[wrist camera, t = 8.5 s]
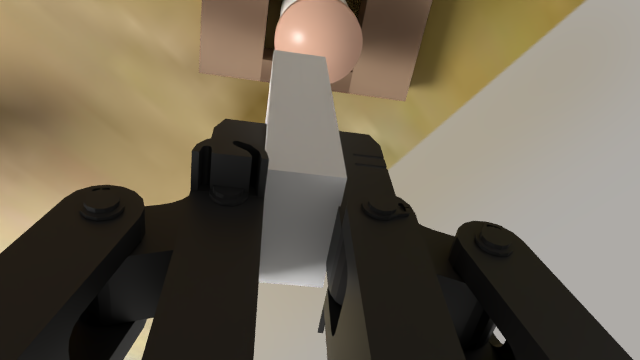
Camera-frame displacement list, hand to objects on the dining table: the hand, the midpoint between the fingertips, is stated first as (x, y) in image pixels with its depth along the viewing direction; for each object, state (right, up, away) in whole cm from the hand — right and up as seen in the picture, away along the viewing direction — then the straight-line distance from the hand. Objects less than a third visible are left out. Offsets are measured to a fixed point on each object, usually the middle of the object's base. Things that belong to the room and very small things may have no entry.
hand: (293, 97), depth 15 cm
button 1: (0, +9, +18) cm, 20 cm away
